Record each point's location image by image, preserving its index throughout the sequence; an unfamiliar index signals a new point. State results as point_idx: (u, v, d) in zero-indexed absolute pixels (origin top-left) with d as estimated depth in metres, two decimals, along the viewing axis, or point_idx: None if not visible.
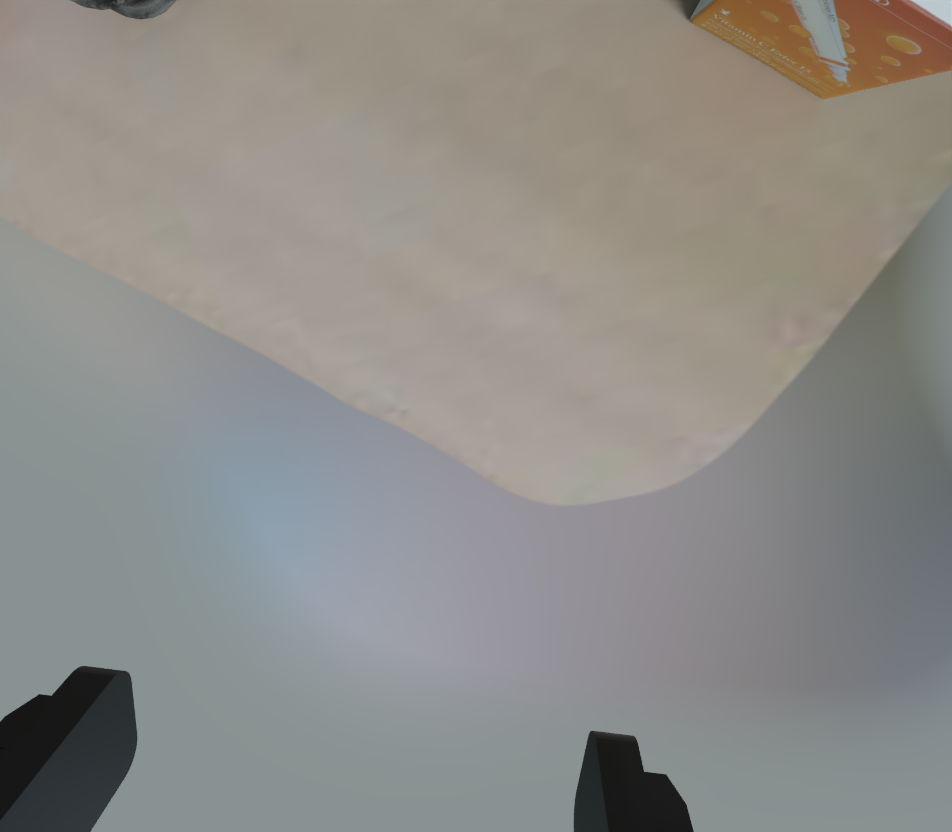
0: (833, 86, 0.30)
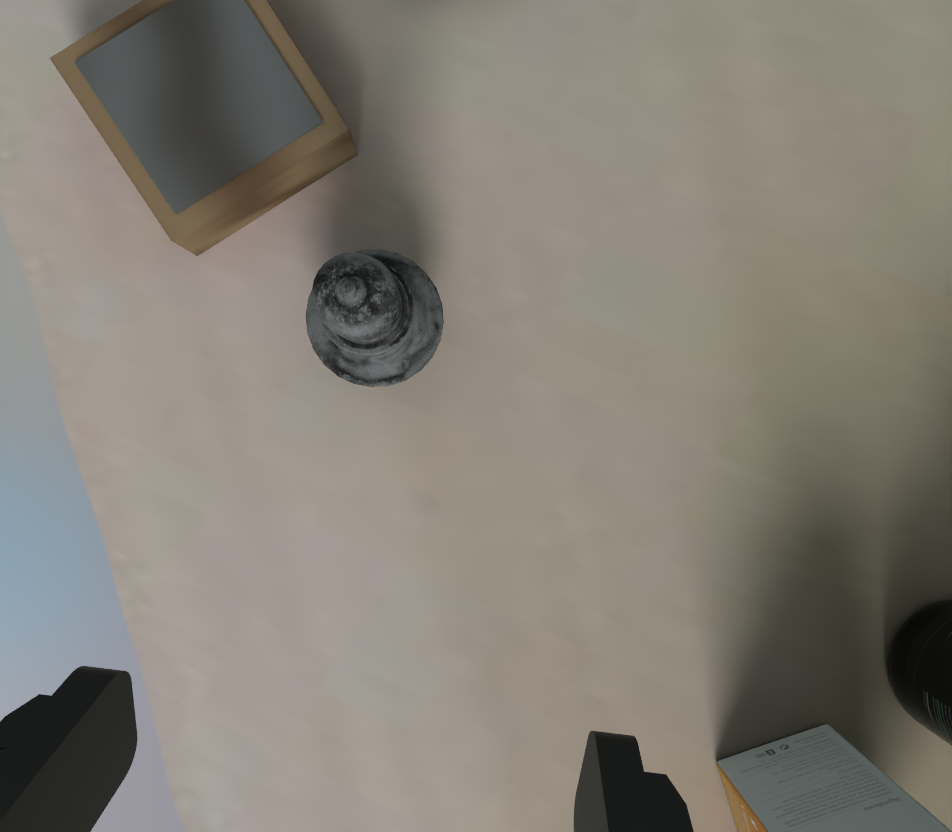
0: None
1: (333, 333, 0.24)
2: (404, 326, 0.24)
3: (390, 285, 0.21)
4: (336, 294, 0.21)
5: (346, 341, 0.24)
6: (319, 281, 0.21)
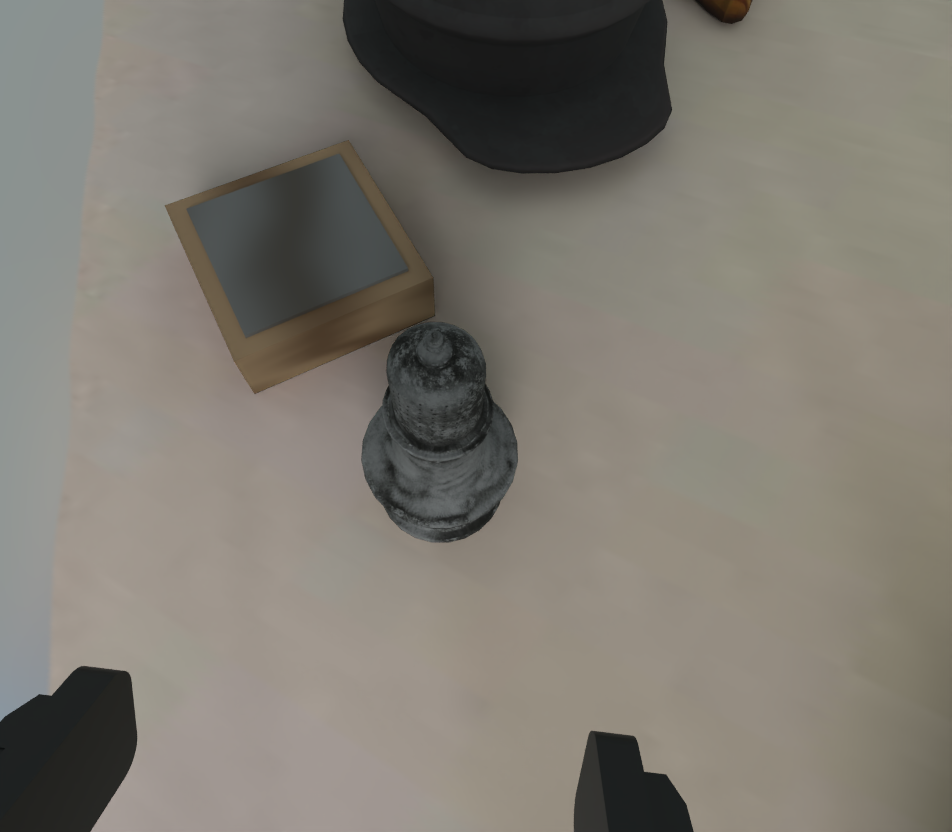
0: None
1: (398, 432, 0.21)
2: (481, 431, 0.21)
3: (479, 354, 0.18)
4: (418, 353, 0.18)
5: (412, 441, 0.20)
6: (399, 343, 0.18)
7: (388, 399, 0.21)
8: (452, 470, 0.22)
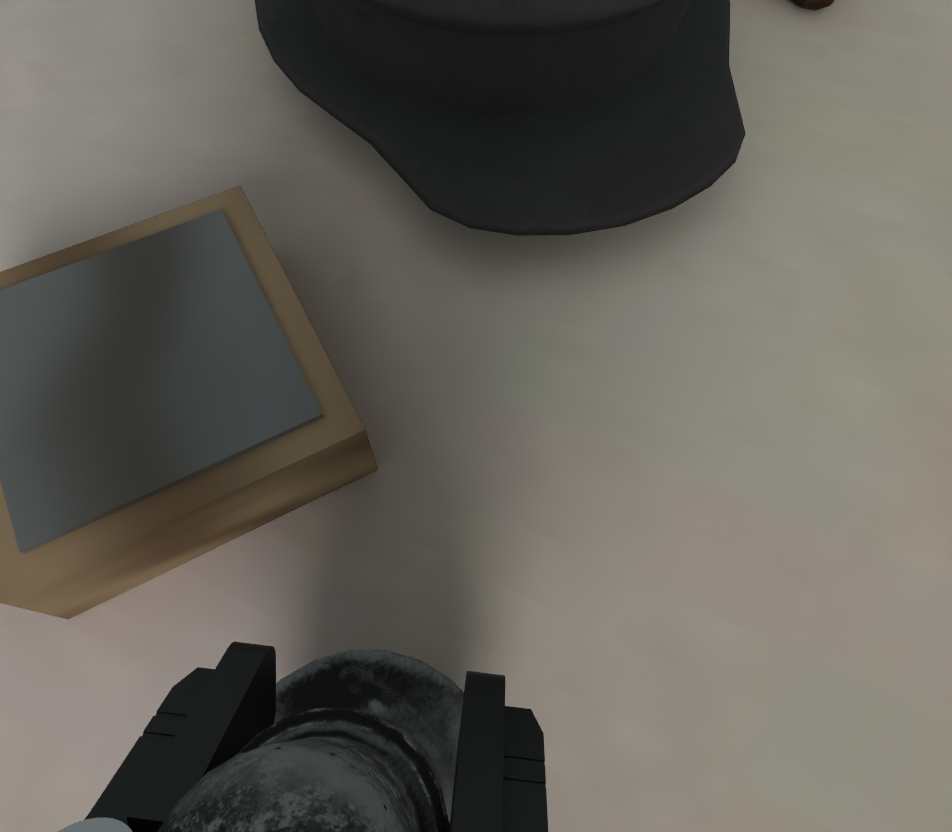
0: None
1: None
2: None
3: None
4: None
5: None
6: None
7: None
8: None
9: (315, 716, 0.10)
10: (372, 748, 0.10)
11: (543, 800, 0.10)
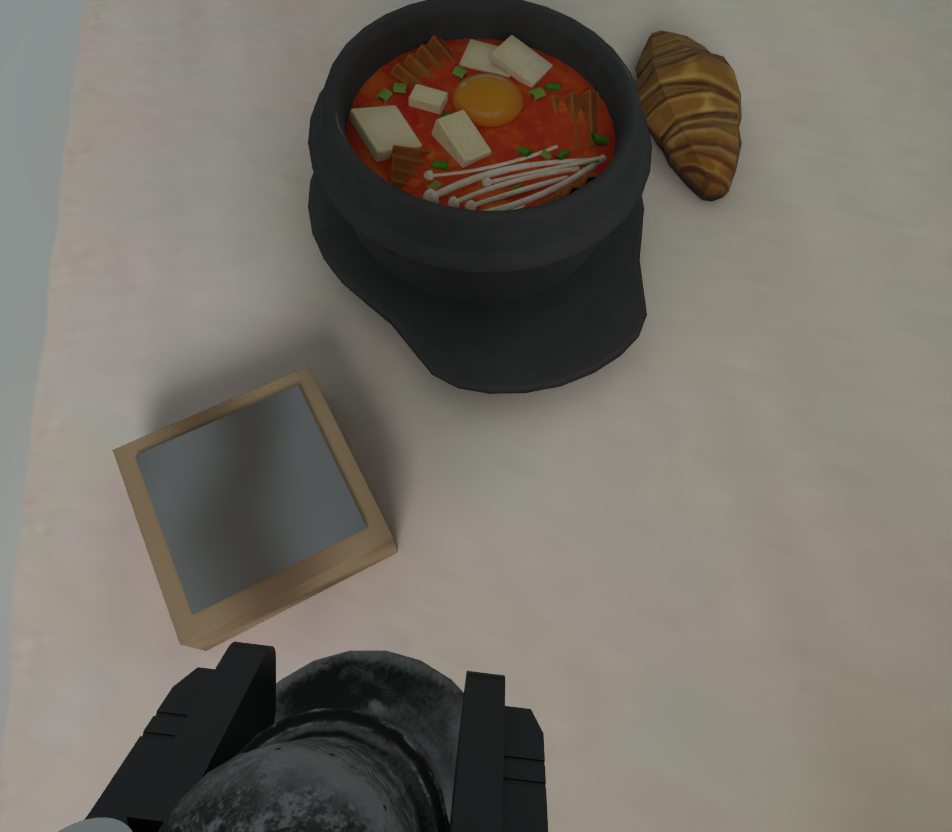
0: None
1: None
2: None
3: None
4: None
5: None
6: None
7: None
8: None
9: (315, 716, 0.10)
10: (372, 748, 0.10)
11: (543, 800, 0.10)
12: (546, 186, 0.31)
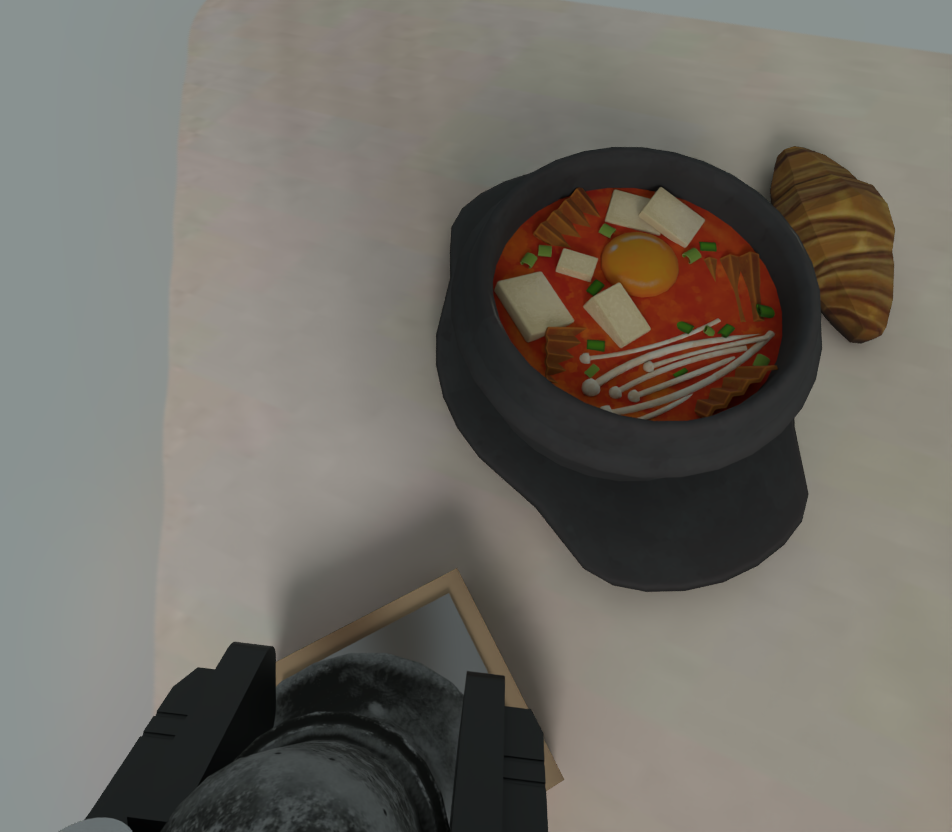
0: None
1: None
2: None
3: None
4: None
5: None
6: None
7: None
8: None
9: (315, 720, 0.10)
10: (372, 752, 0.10)
11: (543, 800, 0.10)
12: (713, 370, 0.29)
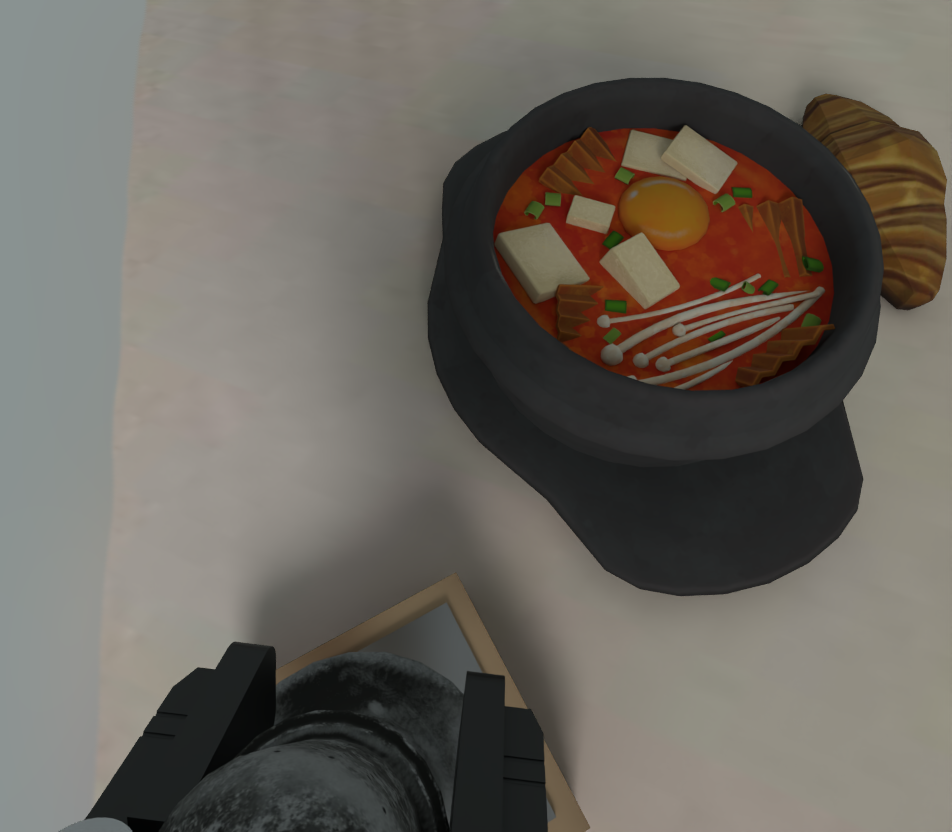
0: None
1: None
2: None
3: None
4: None
5: None
6: None
7: None
8: None
9: (314, 718, 0.10)
10: (372, 750, 0.10)
11: (543, 800, 0.10)
12: (755, 333, 0.24)
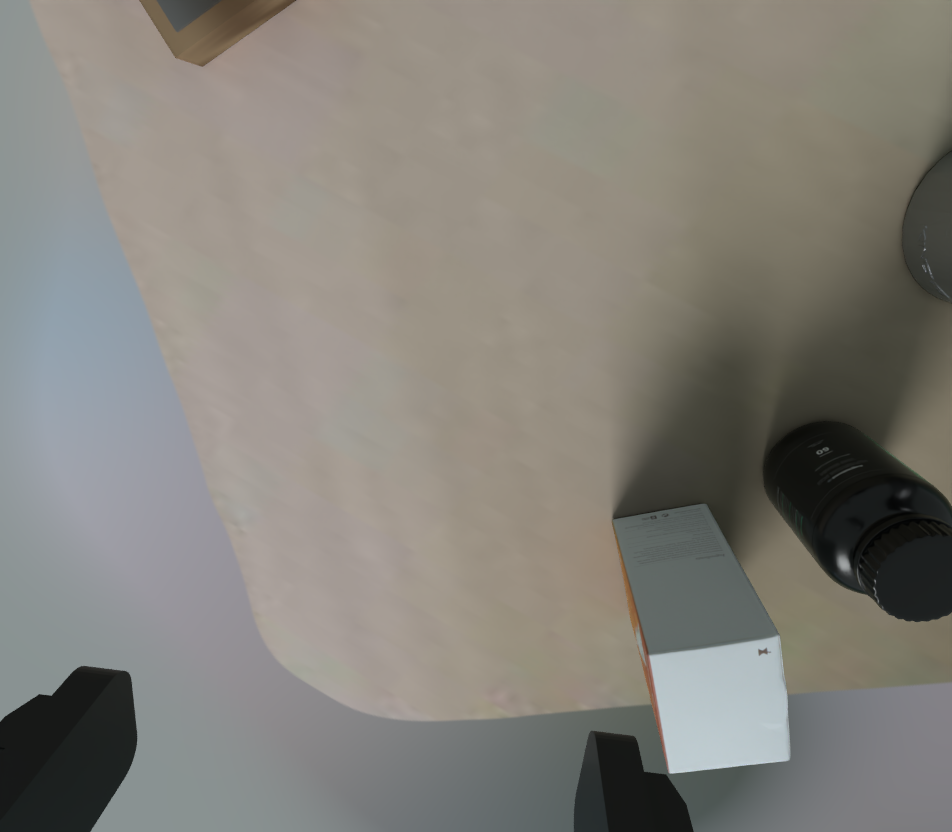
0: None
1: None
2: None
3: None
4: None
5: None
6: None
7: None
8: None
9: None
10: None
11: None
12: None
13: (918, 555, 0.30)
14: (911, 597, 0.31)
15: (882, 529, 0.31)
